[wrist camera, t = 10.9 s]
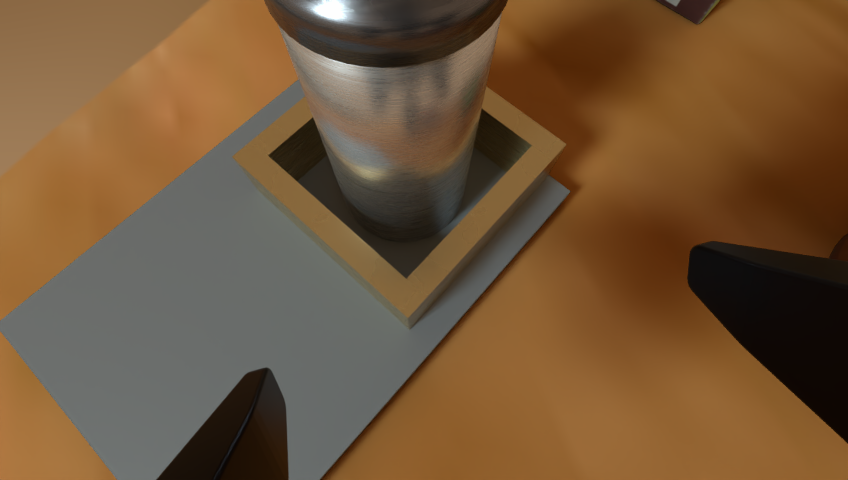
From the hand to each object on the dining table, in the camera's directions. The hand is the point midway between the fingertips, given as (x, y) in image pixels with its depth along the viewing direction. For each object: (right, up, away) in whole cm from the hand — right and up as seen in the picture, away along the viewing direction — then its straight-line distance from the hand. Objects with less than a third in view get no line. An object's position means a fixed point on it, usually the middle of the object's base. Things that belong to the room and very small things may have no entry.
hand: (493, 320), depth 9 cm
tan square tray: (-2, +4, +11) cm, 12 cm away
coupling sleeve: (-2, +4, +11) cm, 12 cm away
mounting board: (-7, +1, +11) cm, 13 cm away
